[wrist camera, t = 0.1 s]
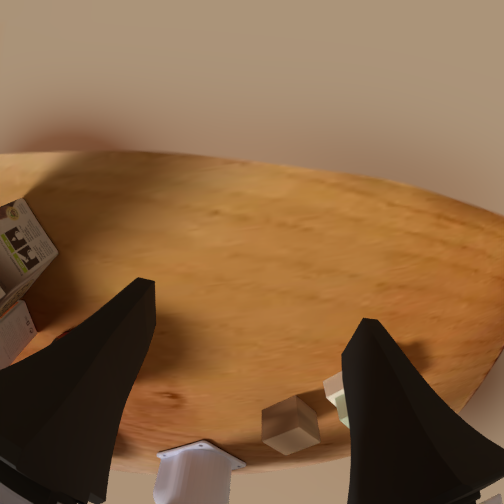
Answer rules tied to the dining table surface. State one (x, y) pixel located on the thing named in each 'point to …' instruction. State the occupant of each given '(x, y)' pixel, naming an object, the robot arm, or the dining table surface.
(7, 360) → the skincare box
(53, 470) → the robot arm
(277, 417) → the walnut cube
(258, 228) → the dining table surface
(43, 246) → the coffee box
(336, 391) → the tower base
